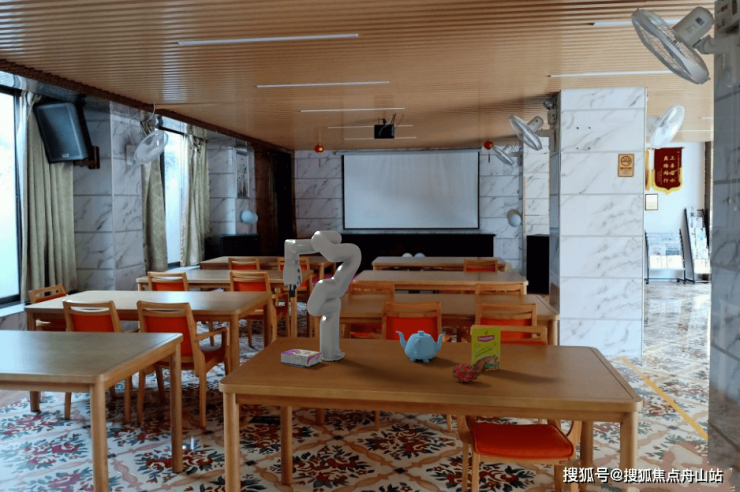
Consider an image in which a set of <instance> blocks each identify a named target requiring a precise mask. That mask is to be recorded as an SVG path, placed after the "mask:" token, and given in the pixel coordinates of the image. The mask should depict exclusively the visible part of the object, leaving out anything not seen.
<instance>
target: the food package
mask: <svg viewBox="0 0 740 492" xmlns="http://www.w3.org/2000/svg"><path fill="white" fill-rule="evenodd" d="M501 329H502V328H501V326H491V327H479V328H478V327H477V328H472V329H471V354H470V355H471V361H470V363H471V365H470V366H472V367H473V369H474V370H477V371H478V372H479V373H480V372H489V371H496V370H500V369H501ZM488 370H489V371H488Z"/></svg>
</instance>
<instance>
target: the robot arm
mask: <svg viewBox="0 0 740 492" xmlns="http://www.w3.org/2000/svg"><path fill="white" fill-rule="evenodd" d="M341 242H342V235H341V234H340V232H339V231H337V230H333V229H331V230H318V231H315V232H314V234H313V236H312V237H311V239H309V238H307V239H295V238H294V239H291V238H290V239H286V240H285V241H284V266H283V269H282V270H283V271H282V282H283V286H284V287H286V288H287V290H288V298H290V299H292V298H296V290H297V289H298V288H300V287H301V284H302V283H303V274H302V267H301V265H300V263H301V261H300V255H307V254H309V255H310V254H315V253H320V255H322V257H324V258H325V260H327V262H330V263H340V262H342V263H341V264H340V265H339V266H338V267H337V268H336V270H335V272H334V274H333V276H332V277H330V278H324V279H320V280H319V281H317V282H316V283H315V284H314V287H313V289H312V291H311V293H310V296H309V298H308V300H307V304H306V308H307V312H308V314H309V315H311V316H313V317H319V316H321V317H320V321H319V352H321V361H324V362H325V361H326V362H328V361H329V362H331V361H333V362H334V360H335V361H338V360H339V361H340V360H341V359H343V358H344V356H345V355H346V353H345V352H342V348H340V314H341V309H342V300H341V298H340V297H343V296H344V295H345V293H346V291H347V290H348V287H349V285H350V284H351V281H352V280H353V277H354V276H355V274H356V272H357V271H358V269H359V267H360V266H361V262H362V252H361V249H360V248H359V246H358V245H356V244H354V243H341Z"/></svg>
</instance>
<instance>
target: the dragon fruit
mask: <svg viewBox="0 0 740 492" xmlns="http://www.w3.org/2000/svg"><path fill="white" fill-rule="evenodd" d="M451 373H452V378H454V379H458V381H459V382H460V383H463V382H465V383H468V384H473V383H474V381H476V380H478V379H477V378H478V376H479V377H480V376H481V374H480V372H478V371H477V370H474V369H473V367H472V366H471V365H470V364H467V363H458V364H455V366H454V367H453V368H452V370H451Z"/></svg>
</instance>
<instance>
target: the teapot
mask: <svg viewBox="0 0 740 492" xmlns="http://www.w3.org/2000/svg"><path fill="white" fill-rule="evenodd" d="M395 333H397V334H398V335H399V341H400V345H401V347H402V349H404V353H405V355H407V357H408V358H410V359H409V361H410V362H416V360H422V361H423V363H429V362H430V360H432V359H433V358H435V357H436V355H437V353H438V352H439V351H440V350H441V348H442V345H443V344H442V342H443V341H442V339H443V337H444V336H445V335H446V333H441V334H439V336H438V338H437V343H436V342H435V340H434V338H433V337H432V335H431V334H429V333H426V332H425V331H424V330H418V331H417V333H412V334H411V335H410V337H409V338H408V340H407V341H406V340H405V338H404V333H403V332H402V331H398V330H395Z"/></svg>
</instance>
